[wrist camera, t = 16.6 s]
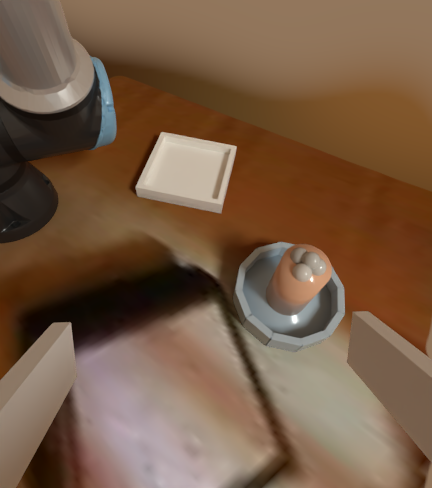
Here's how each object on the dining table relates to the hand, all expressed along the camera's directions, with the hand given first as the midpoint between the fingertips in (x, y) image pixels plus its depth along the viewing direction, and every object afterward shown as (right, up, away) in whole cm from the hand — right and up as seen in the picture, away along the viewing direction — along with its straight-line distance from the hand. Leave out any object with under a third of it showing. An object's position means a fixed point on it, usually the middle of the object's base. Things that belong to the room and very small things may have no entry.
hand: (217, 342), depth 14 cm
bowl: (+11, -4, +33) cm, 35 cm away
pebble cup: (+11, -3, +33) cm, 35 cm away
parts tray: (-5, +18, +46) cm, 50 cm away
